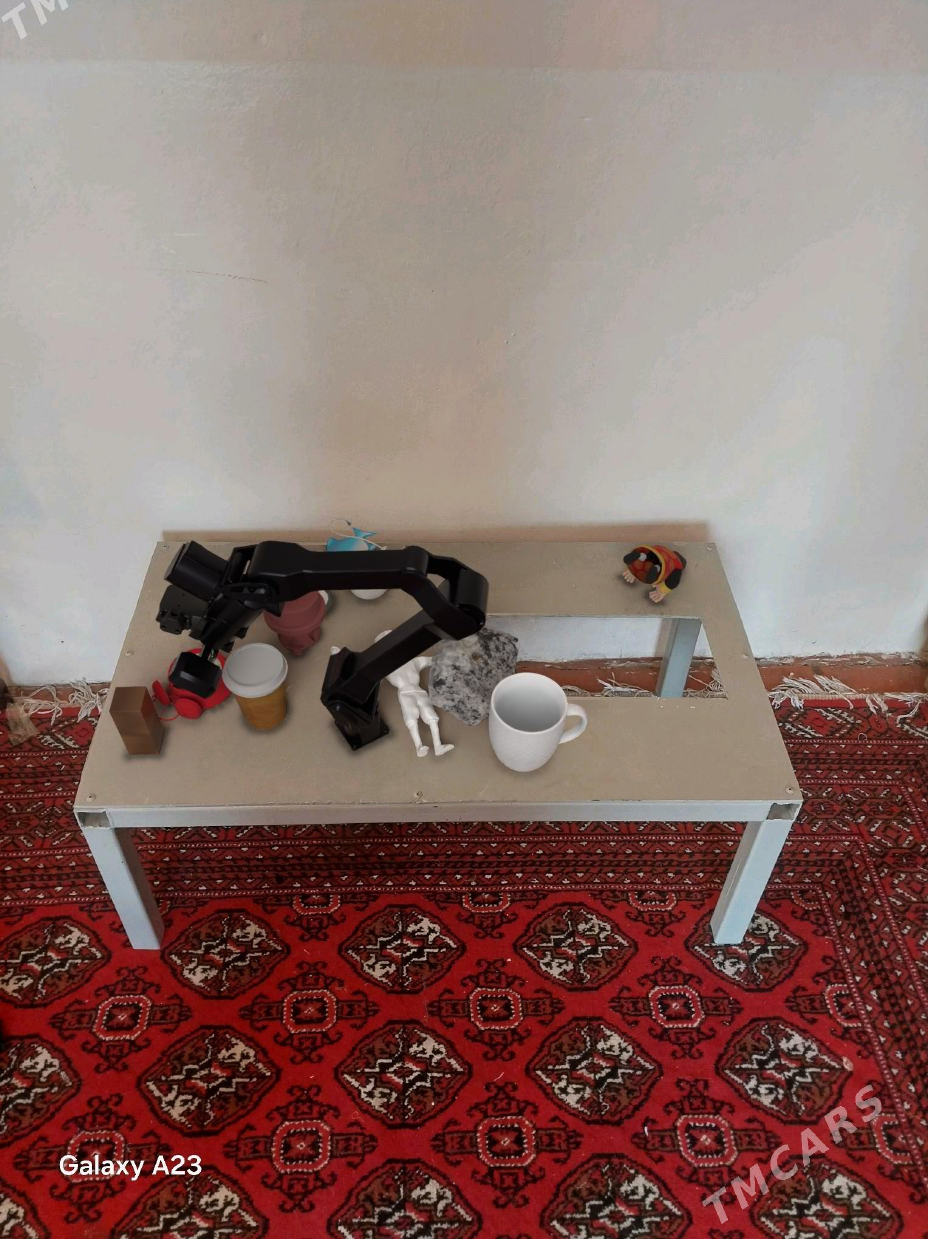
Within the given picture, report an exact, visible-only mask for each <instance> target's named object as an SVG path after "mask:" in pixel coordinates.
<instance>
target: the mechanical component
mask: <svg viewBox="0 0 928 1239" xmlns="http://www.w3.org/2000/svg"><path fill="white" fill-rule="evenodd" d="M262 614H263V618H264V622H265V624H266V626H267V627H268V628H269V629H270V630H271V631H272V632H273V633H276V634H277V638H278V641H279V643H280V645H282V646H283V647H285V648H286V649H289V650H292V653H293V654H294V655H295V656H299V655H302V654H303V652H304V650H305V649H308V648H310V647H312V646H314V645H315V644H316V643H317V642H318V641H319V639H320V637H321V628H320V627H321V626H320V625H322V623H323V622H324V620H325V618H326V615H327V613H326V605H325V601H324V598H323V597H322V595H321V594H320V593H318V591H314V592H310V593H308V594H306V595H304V596H302V597H300V598H299V599H297V600H295V601H289V602H285V606H284V609H283V612H282V615H281V617H276V616H274V615H272V614H270V613H269V612H267V611H263V612H262Z"/></svg>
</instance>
